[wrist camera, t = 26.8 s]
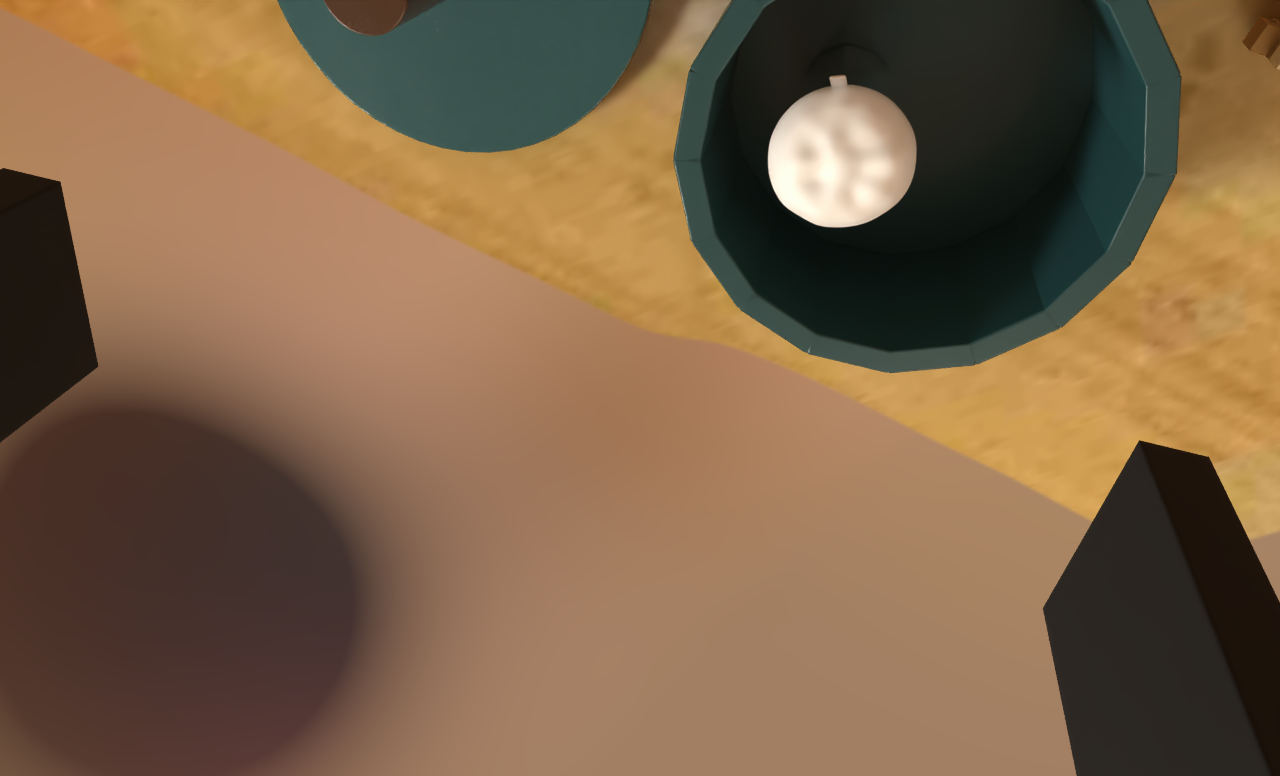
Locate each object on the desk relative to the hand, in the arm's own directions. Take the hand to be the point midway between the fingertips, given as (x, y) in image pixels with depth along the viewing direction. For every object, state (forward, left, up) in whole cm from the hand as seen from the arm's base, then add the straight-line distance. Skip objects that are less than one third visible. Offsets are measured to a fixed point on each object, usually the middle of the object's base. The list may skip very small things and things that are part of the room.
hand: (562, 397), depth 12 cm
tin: (+3, +6, -29) cm, 29 cm away
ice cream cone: (+3, +4, -28) cm, 29 cm away
